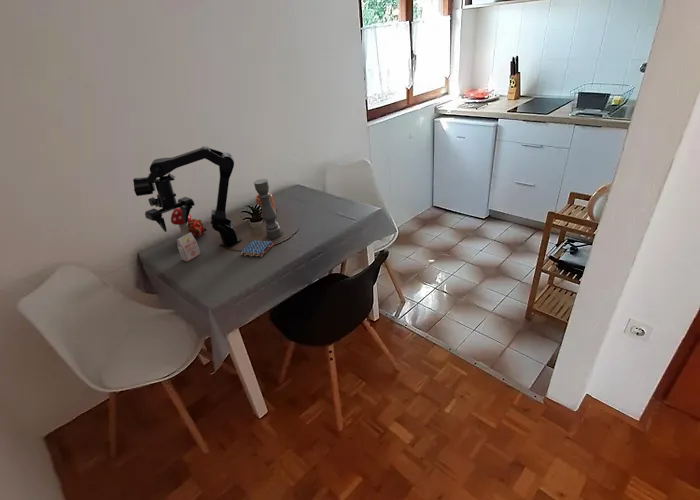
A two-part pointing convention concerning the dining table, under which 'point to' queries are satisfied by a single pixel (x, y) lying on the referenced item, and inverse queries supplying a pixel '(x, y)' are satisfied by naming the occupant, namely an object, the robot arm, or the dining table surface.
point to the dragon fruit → (196, 227)
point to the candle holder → (267, 209)
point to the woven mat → (256, 248)
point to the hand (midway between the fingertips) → (175, 227)
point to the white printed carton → (188, 247)
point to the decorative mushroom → (180, 221)
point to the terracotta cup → (261, 203)
